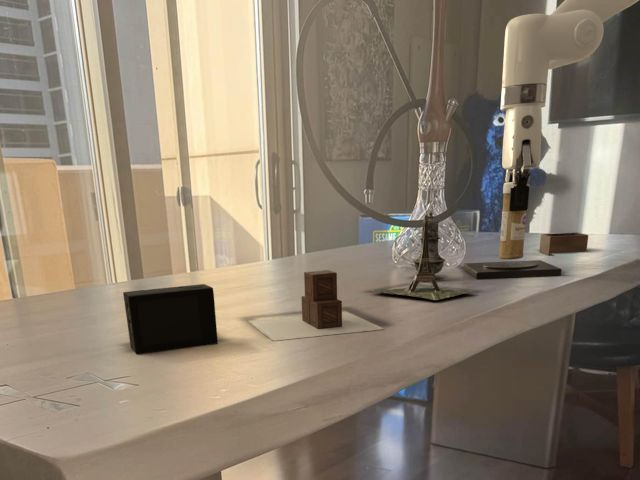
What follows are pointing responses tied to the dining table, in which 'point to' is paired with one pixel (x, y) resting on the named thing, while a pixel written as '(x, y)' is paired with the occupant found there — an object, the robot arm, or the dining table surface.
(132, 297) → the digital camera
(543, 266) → the hob plate
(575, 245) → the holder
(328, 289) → the stack of crates
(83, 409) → the dining table surface
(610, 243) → the dining table surface
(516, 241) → the sprinkles bottle
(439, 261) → the dark brown tall piece
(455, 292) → the eiffel tower figurine
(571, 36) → the robot arm
